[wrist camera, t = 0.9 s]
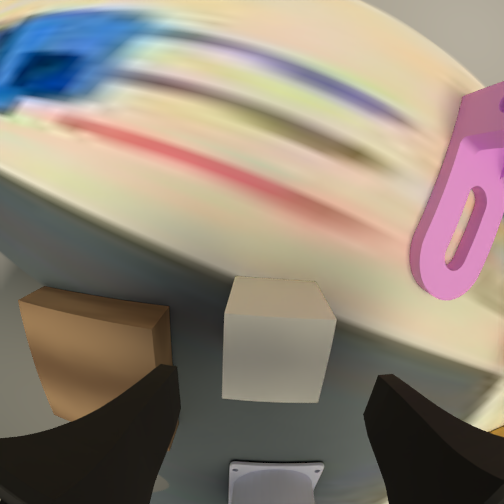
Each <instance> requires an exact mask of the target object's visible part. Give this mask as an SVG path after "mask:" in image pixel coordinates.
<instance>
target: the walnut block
mask: <svg viewBox="0 0 504 504" xmlns="http://www.w3.org/2000/svg"><path fill="white" fill-rule="evenodd" d="M18 302H19V307H20V311H21V315H22V320H23V324H24V328H25V332H26V336H27V340H28V343H29V347H30V350H31V353H32V357H33V360H34V363H35V366H36V369H37V372H38V375H39V378H40V381H41V383H42V386H43V389H44V391H45V394H46V396H47V399H48V401H49V404H50V406H51V408H52V410H53V413H54V415H57V416H59V417H61V418H64V419H66V420H68V421H71V422H72V421H74V420H77V419H79V418H81V417H83V416H85V415H87V414H89V413H91V412H93V411H95V410H97V409H99V408H100V407H102V406H104V405H105V404H107V403H108V402H110V401H112V400H113V399H115V398H116V397H118V396H119V395H121V394H122V393H123V392H125V391H126V390H127V389H129V388H130V387H131V386H133V385H134V384H135V383H137V382H138V381H139V380H141V379H142V378H143V377H144V376H146V375H147V374H148V373H149V372H151V371H152V370H153V369H154V368H156V367H157V366H158V365H160V364H165V365H171V366H173V364H172V351H171V335H170V315H169V306H162V305H155V304H147V303H140V302H133V301H126V300H119V299H113V298H106V297H100V296H94V295H89V294H83V293H77V292H72V291H66V290H61V289H56V288H51V287H46V286H44V287H42V288H40V289H38V290H36V291H34V292H32V293H31V294H29V295H27V296H25V297H23V298H21V299H19V300H18ZM178 424H179V421H177V425H176V429H175V432H174V435H173V437H172V440H171V442H170V445H169V447H168V450H167V451H170V448H171V445H172V442H173V439H174V436H175V433H176V430H177V427H178Z"/></svg>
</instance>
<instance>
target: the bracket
mask: <svg viewBox="0 0 504 504" xmlns="http://www.w3.org/2000/svg"><path fill="white" fill-rule="evenodd" d="M471 189H472V190H473V192H474V194H475V206H474V209H473V212H472V214H471V217H470V220H469V222H468V225H467V227H466V230H465V232H464V235H463V237H462V239H461V242H460V244H459V246H458V249H457V251H456V253H455V255H454V257H453V259H452V261H451V262H450V263H449V264H447V265H446V264H445V252H446V249H447V247H448V245H449V243H450V240H451V238H452V236H453V233H454V231H455V229H456V226H457V224H458V221H459V219H460V216H461V214H462V211H463V209H464V206H465V203H466V200H467V198H468V195H469V192H470V190H471ZM503 213H504V81H503V82H500V83H497V84H494V85H492V86H489V87H486V88H484V89H481V90H478V91H476V92H473V93H470V94H468V95H465V96H463V97H462V102H461V106H460V109H459V113H458V117H457V121H456V124H455V128H454V131H453V134H452V138H451V141H450V144H449V147H448V150H447V153H446V156H445V159H444V162H443V165H442V168H441V170H440V173H439V176H438V178H437V181H436V184H435V186H434V189H433V191H432V194H431V196H430V199H429V201H428V204H427V206H426V208H425V211H424V213H423V215H422V218H421V220H420V222H419V224H418V227H417V229H416V231H415V233H414V236H413V239H412V243H411V248H410V266H411V271H412V274H413V276H414V279H415V280H416V282H417V283H418V285H419V286H420V287H421V288H422V289H424V290H425V291H427V292H428V293H430V294H431V295H432V296H434V297H436V298H438V299H441V300H452V299H455V298H458V297H460V296H461V295H463V294H464V293H465V292H467V291H468V290H469V289H470V288H471V286H472V285H473V284H474V283H475V281H476V279H477V278H478V276H479V274H480V272H481V269H482V267H483V265H484V263H485V260H486V258H487V256H488V253H489V251H490V248H491V246H492V243H493V241H494V238H495V236H496V233H497V230H498V227H499V225H500V222H501V219H502V216H503Z"/></svg>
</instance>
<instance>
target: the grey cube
mask: <svg viewBox="0 0 504 504" xmlns="http://www.w3.org/2000/svg"><path fill="white" fill-rule="evenodd" d="M336 321H337V319H336V317H335V316H334V314H333V312H332V310H331V308H330V307H329V305H328V303H327V301H326V299H325V298H324V296H323V294H322V292H321V290H320V289H319V287H318V285H317V283H316V282H315V281H300V280H285V279H270V278H256V277H243V276H235V279H234V283H233V286H232V289H231V293H230V296H229V299H228V303H227V306H226V310H225V313H224V340H223V379H222V398H224V399H234V400H246V401H261V402H287V403H318V400H319V396H320V392H321V388H322V384H323V380H324V376H325V372H326V368H327V364H328V359H329V355H330V350H331V346H332V341H333V336H334V331H335V326H336Z"/></svg>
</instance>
